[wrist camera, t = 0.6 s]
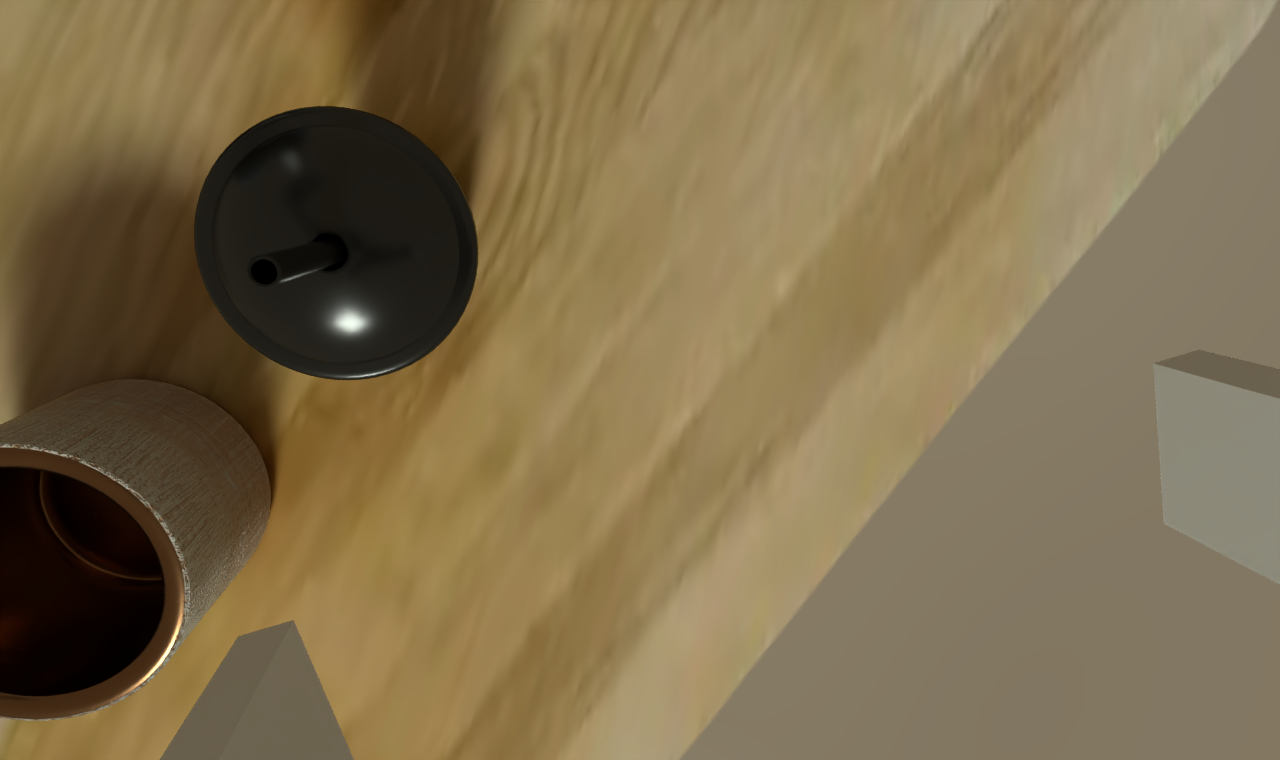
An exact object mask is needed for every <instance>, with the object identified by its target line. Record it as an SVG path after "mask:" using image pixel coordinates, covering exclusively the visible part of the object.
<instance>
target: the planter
mask: <svg viewBox="0 0 1280 760" xmlns="http://www.w3.org/2000/svg"><path fill="white" fill-rule="evenodd" d="M270 508H271V488H270V480H269V476H268V472H267V469H266V465H265V463H264V460H263V457H262V455H261V453H260V451H259V449H258V447H257V446H256V444H255V442H254V441H253V440H252V438H251V437H250V435H249V434H248V433H247V431H246V430H245V429H244V428H243V427H242V425H241V424H240V423H239V422H238V421H237V420H236V419H235V418H234V417H232V416H231V415H230V414H229V413H228V412H227V411H225V410H224V409H223V408H221V407H220V406H219V405H217V404H216V403H214V402H213V401H211V400H209V399H208V398H206V397H204V396H202V395H200V394H198V393H196V392H193V391H191V390H188V389H186V388H183V387H180V386H177V385H174V384H170V383H166V382H161V381H154V380H145V379H122V380H113V381H108V382H102V383H97V384H93V385H89V386H85V387H82V388H79V389H77V390H74V391H72V392H69V393H67V394H65V395H63V396H61V397H58V398H56V399H54V400H52V401H50V402H48V403H45V404H43V405H41V406H39V407H37V408H35V409H33V410H31V411H29V412H26V413H24V414H22V415H20V416H18V417H16V418H14V419H12V420H10V421H8V422H5V423H3V424H1V425H0V718H6V719H15V720H31V721H40V720H57V719H65V718H71V717H76V716H81V715H85V714H88V713H92V712H95V711H98V710H101V709H104V708H106V707H108V706H111V705H113V704H115V703H117V702H119V701H121V700H123V699H125V698H127V697H128V696H130V695H132V694H133V693H135V692H136V691H138V690H139V689H140V688H142V687H143V686H144V685H146V684H147V683H148V682H149V681H150V680H151V679H152V678H154V676H155V675H156V674H157V673H158V672H159V671H160V670H161V669H162V668H163V667H164V666H165V665H166V663H167V662H168V661H169V660H170V658H171V657H172V656H173V655H174V653H175V652H176V651H177V650H178V648H179V647H180V646H181V644H182V643H183V642H184V641H185V639H186V638H187V637H188V635H189V634H190V633H191V632H192V630H193V629H194V628H195V626H196V625H197V624H198V623H199V621H200V620H201V619H202V618H203V616H204V615H205V614H206V613H207V611H208V610H209V609H210V608H211V606H212V605H213V604H214V603H215V601H216V600H217V599H218V598H219V597H220V595H221V594H222V593H223V592H224V590H225V589H226V588H227V587H228V586H229V584H230V583H231V582H232V581H233V579H234V578H235V577H236V576H237V574H238V573H239V572H240V571H241V569H242V568H243V567H244V566H245V564H246V563H247V562H248V561H249V559H250V558H251V556H252V555H253V554H254V552H255V550H256V549H257V547H258V545H259V543H260V541H261V539H262V536H263V534H264V531H265V529H266V526H267V523H268V519H269V514H270Z"/></svg>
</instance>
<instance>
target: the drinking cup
mask: <svg viewBox="0 0 1280 760" xmlns="http://www.w3.org/2000/svg"><path fill="white" fill-rule="evenodd" d="M194 240H195V251H196V257H197V262H198V266H199V269H200V273H201V276H202V279H203V281H204V284H205V287H206V289H207V291H208V293H209V295H210V297H211V299H212V301H213V302H214V304H215V306H216V307H217V309H218V311H219V312H220V314H221V315H222V316H223V317H224V319H225V320H226V322H227V323H228V324H229V325H230V326H231V327H232V328H233V330H234V331H235V332H236V333H237V334H238V335H239V336H240V337H241V338H242V339H244V340H245V341H246V342H247V343H248V344H249V345H251V346H252V347H253V348H254V349H256V350H257V351H258V352H260V353H261V354H263V355H265V356H266V357H268V358H269V359H271V360H273V361H275V362H277V363H278V364H280V365H282V366H285V367H287V368H289V369H292V370H294V371H297V372H300V373H303V374H306V375H310V376H315V377H319V378H325V379H333V380H361V379H369V378H375V377H379V376H383V375H387V374H390V373H393V372H396V371H399V370H401V369H403V368H405V367H408V366H410V365H412V364H413V363H415V362H417V361H419V360H420V359H422V358H423V357H425V356H426V355H427V354H429V353H430V352H431V351H433V350H434V349H435V348H436V347H437V346H438V345H439V344H440V343H441V342H442V341H443V340H444V339H445V338H446V337H447V336H448V335H449V334H450V333H451V331H452V330H453V328H454V327H455V326H456V325H457V323H458V321H459V320H460V318H461V316H462V315H463V313H464V311H465V309H466V307H467V304H468V302H469V300H470V297H471V294H472V291H473V288H474V284H475V280H476V275H477V267H478V239H477V233H476V226H475V222H474V219H473V215H472V212H471V209H470V206H469V203H468V201H467V198H466V196H465V194H464V192H463V190H462V188H461V186H460V185H459V183H458V181H457V180H456V178H455V176H454V175H453V173H452V172H451V171H450V169H449V168H448V167H447V165H446V164H445V163H444V162H443V161H442V160H441V159H440V157H439V156H438V155H437V154H436V153H435V152H434V151H433V150H432V149H431V148H430V147H428V146H427V145H426V144H425V143H424V142H423V141H421V140H420V139H419V138H417V137H416V136H415V135H413V134H412V133H410V132H409V131H407V130H406V129H404V128H402V127H401V126H399V125H397V124H395V123H393V122H391V121H389V120H387V119H384V118H382V117H379V116H377V115H374V114H371V113H367V112H364V111H360V110H355V109H350V108H344V107H334V106H315V107H305V108H299V109H295V110H290V111H286V112H283V113H280V114H277V115H274V116H272V117H270V118H267V119H265V120H263V121H261V122H259V123H257V124H256V125H254V126H252V127H251V128H249V129H248V130H246V131H245V132H244V133H242V134H241V135H240V136H238V137H237V138H236V139H235V140H234V141H233V142H232V143H231V144H230V145H229V146H228V147H227V148H226V149H225V150H224V151H223V153H222V154H221V155H220V156H219V157H218V159H217V161H216V162H215V163H214V165H213V166H212V168H211V170H210V172H209V174H208V176H207V177H206V180H205V182H204V184H203V187H202V189H201V192H200V196H199V199H198V203H197V208H196V214H195V224H194Z"/></svg>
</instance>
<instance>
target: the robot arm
mask: <svg viewBox="0 0 1280 760" xmlns="http://www.w3.org/2000/svg"><path fill="white" fill-rule="evenodd" d="M1153 367H1154V382H1155V397H1156V412H1157V427H1158V442H1159V456H1160V473H1161V488H1162V503H1163V519H1164V524H1166V525H1167V526H1169V527H1171V528H1173V529H1175V530H1177V531H1179V532H1181V533H1183V534H1185V535H1186V536H1188V537H1190V538H1192V539H1194V540H1196V541H1198V542H1200V543H1202V544H1204V545H1206V546H1207V547H1209V548H1211V549H1213V550H1215V551H1217V552H1219V553H1221V554H1223V555H1224V556H1226V557H1228V558H1230V559H1232V560H1234V561H1236V562H1238V563H1240V564H1242V565H1243V566H1245V567H1247V568H1249V569H1251V570H1253V571H1255V572H1257V573H1259V574H1261V575H1263V576H1264V577H1266V578H1268V579H1270V580H1272V581H1274V582H1276V583H1278V584H1280V369H1276V368H1272V367H1268V366H1264V365H1259V364H1255V363H1251V362H1247V361H1243V360H1239V359H1234V358H1231V357H1226V356H1222V355H1218V354H1214V353H1210V352H1206V351H1202V350H1197V351H1193V352H1190V353H1187V354H1184V355H1180V356H1177V357H1173V358H1170V359H1167V360H1163V361H1160V362H1157V363H1154V364H1153ZM160 760H354V759H353V757H352V754H351V752H350V750H349V747H348V745H347V743H346V740H345V738H344V736H343V734H342V731H341V729H340V727H339V724H338V722H337V720H336V717H335V715H334V713H333V710H332V708H331V706H330V703H329V701H328V699H327V697H326V694H325V692H324V690H323V687H322V685H321V683H320V680H319V678H318V676H317V673H316V671H315V669H314V667H313V664H312V662H311V660H310V657H309V655H308V653H307V650H306V648H305V646H304V643H303V641H302V639H301V636H300V634H299V632H298V630H297V627H296V625H295V623H294V620H292V621H289V622H285V623H282V624H279V625H275V626H272V627H269V628H265V629H262V630H259V631H255V632H252V633H249V634H245V635H242V636H239V637H238V638H237V639H236V641H235V642H234V644H233V646H232V647H231V649H230V650H229V652H228V653H227V655H226V657H225V658H224V660H223V661H222V663H221V664H220V666H219V668H218V669H217V671H216V672H215V674H214V675H213V677H212V679H211V680H210V682H209V683H208V685H207V686H206V688H205V690H204V691H203V693H202V694H201V696H200V697H199V699H198V700H197V702H196V704H195V705H194V707H193V708H192V710H191V711H190V713H189V715H188V716H187V718H186V719H185V721H184V722H183V724H182V726H181V727H180V729H179V730H178V732H177V733H176V735H175V737H174V738H173V740H172V741H171V743H170V744H169V746H168V748H167V749H166V751H165V752H164V754H163V755H162V757H161V759H160Z"/></svg>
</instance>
